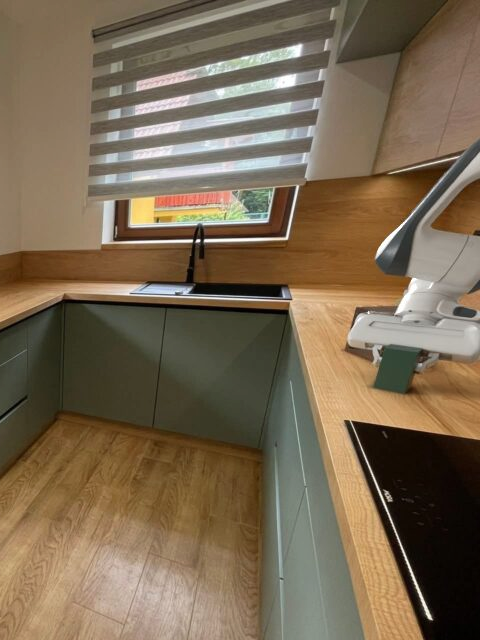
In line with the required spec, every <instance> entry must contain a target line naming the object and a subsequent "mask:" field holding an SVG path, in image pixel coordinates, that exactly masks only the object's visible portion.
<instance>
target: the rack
mask: <svg viewBox="0 0 480 640" xmlns="http://www.w3.org/2000/svg"><path fill="white" fill-rule="evenodd" d="M397 308H398V306H395V305H381V306H380V305H378V306H356V307H355V309H354V314H353V318H352V321H351V324H350V328H349V332H350V331H351V329H352V328H353V326H354V325H355V320H356V318H357V316H358V315H359V314H361V313H365V312H368V311H376V312H389V313H395V312H396V310H397ZM344 351H345V352H347V353H350V354H353V355H354V356H358V357H360V358H363V359H365V360H368V361H370V362H373V361H374V359H375V358H374V356H373V350H370V349H363V348H356V347H351V346H350V345H349V344H348V341H347V340H346V343H345V347H344ZM383 353H384V352H382V353H381V355H379V356H380V357H382V356H383ZM427 360H428V358H424V357H421V358H420V361H419V363H423V362H425V361H427Z"/></svg>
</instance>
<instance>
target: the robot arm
mask: <svg viewBox="0 0 480 640" xmlns="http://www.w3.org/2000/svg"><path fill="white" fill-rule="evenodd" d="M479 179H480V138H478V139H477V140H476V141H474V142H473V143H472V144H471V145H470V146H469V147H468V148H466V149H465V150H464V151H463V152H462V153H461V155H460V156H459V157H457V159H456V160H455V161H454V162H453V163H452V164H451V166H450V167H449V168H448V169H447V170H446V171H445V172H444V173H443V174H442V176H441V177H440V178H439V179H438V180H437V181H436V183H435V184H434V185H433V186H432V187H431V188H430V190H429V191H428V192H427V193H426V195H425V196H424V197H423V198H422V199H421V201H420V202H419V203H418V204H417V205H416V206H415V207H414V208H413V210H412V211H411V212H410V214H409V215H408V216H407V217H405V219H404V221H403V222H402V223H401V224H400V225H399V226H398V227H397V228H396V229H394V231H393V232H392V233H390V234H389V235H388V236H387V237H386V238H385V239H384V241H382V243H381V244H380V246H379V247H378V248H377V251H376V254H375V257H374V262H375V264H376V266H377V268H378V269H379V271H380V272H381V273H382V274H383V275H387V276H395V277H403V278H405V277H407V278H411V280H410V282H409V284H408V286H407V290H408V293H407V294H406V295H405V296H402V297H403V298H402V300H401V302H400V304H399V306H398V308H397V310H396V312H395V313H389V312H376V311H368V312H365V313H361V314H359V315H358V316H357V318H356V320H355V325H354V326H353V328H352V329H351V331H350V330H349V331H348V334H347V339H346V342H347V341H348V344H349V345H350V346H351V347H356V348H363V349H370V350H373V356H374V358H375V359H374V361H372V367H374V368H379V366H380V362H381V359H382V357H380V356H379V355H381V353H382V352H384V349H385V348H386V347H387V346H388V345H390V344H394V345H402V346H409V347H416V348H423V352H422V355H421V358H422V357H424V358H428V360H427V361H425V362H423V363H417V364H416V366H415V368H414V371H413V373H414V374H415V375H422V376H423V375H425V374H424V373H425V372H426V369H429V368H431V367H433V366H434V365H436V364H438V362H439V361H444V362H452V363H459V364H466V365H471V364H474V363H476V362H478V361H479V360H480V310H479V309H476V308H473V307H469V306H465V305H462V304H460V299H461V298H463V296H464V295H471V294H474V293H476V292H478V291H480V236H479V235H473V234H464V233H457V232H452V231H445V230H438V229H434V228H433V227H432V224H433V223H434V222H435V220H436V219H437V218H438V217H439V216H440V215H441V214H442V213H443V212H444V210H445V209H446V208H447V207H448V206H449V205H450V204H451V202H452V201H453V200H454V199H456V197H457V196H458V194H459V193H460V192H461V191H462V190H463V189H464V188H465V187H467V186H468V185H470V184H471V183H473V182H475V181H476V180H479Z"/></svg>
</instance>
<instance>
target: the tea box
mask: <svg viewBox="0 0 480 640" xmlns="http://www.w3.org/2000/svg"><path fill="white" fill-rule="evenodd" d="M422 352H423V348H416V347H409V346H402V345H394V344H390V345H388V346H387V347H386V348H385V349H384V353H383V356H382V359H381V362H380V366H379V367H378V368H377V369H378V370H377V372H376V375H375V378H374V379H375V380H374V382H373V385H372V389H373V388H374V389H379V390H384V391H389V392H393V393H398V394H403V395H404V394H406V393H407V392H408V391H409V390H410V389H411V387H412V385H413V382H414V378H415V375H416V374H414V373H413V371H414V368H415V366H416V364H417V363H419V361H420V358H422V357H421V355H422Z"/></svg>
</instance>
